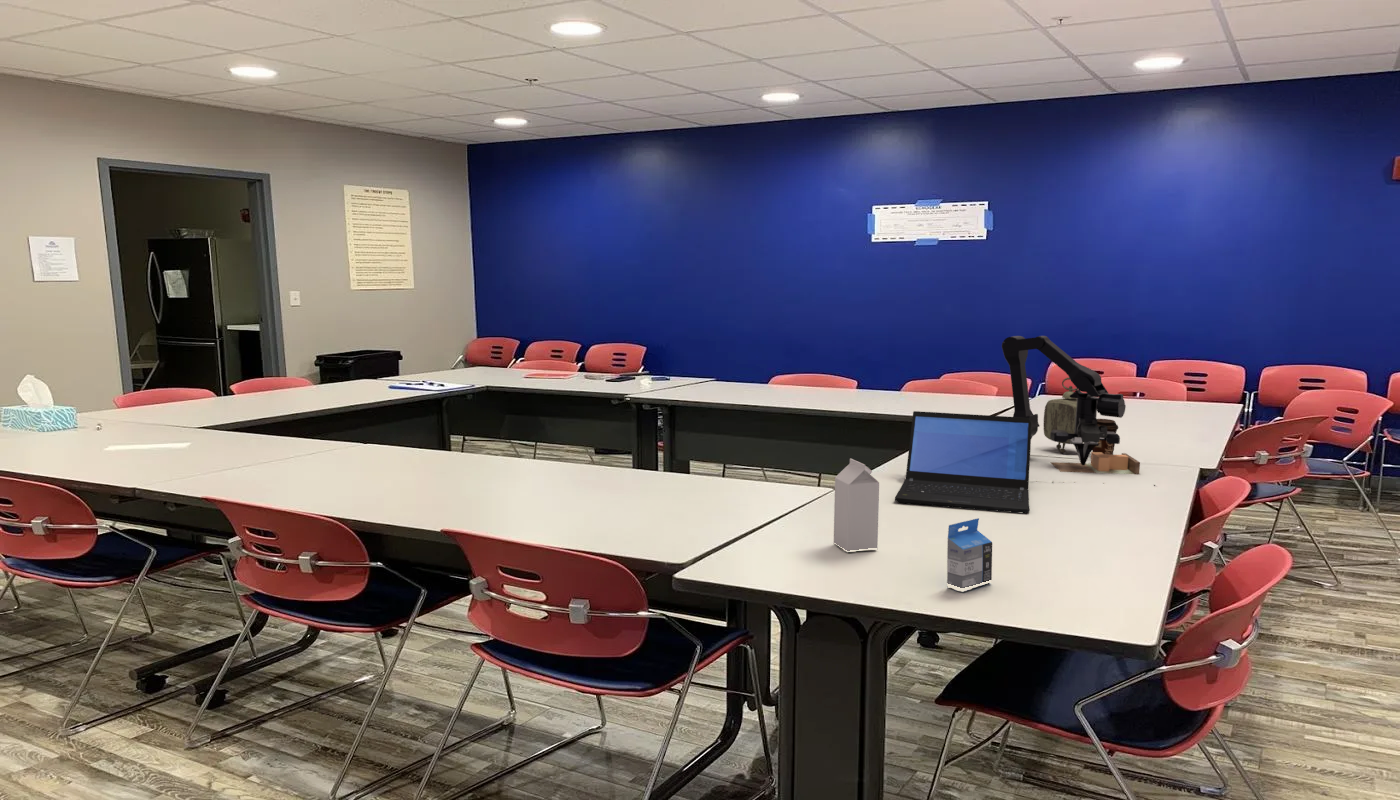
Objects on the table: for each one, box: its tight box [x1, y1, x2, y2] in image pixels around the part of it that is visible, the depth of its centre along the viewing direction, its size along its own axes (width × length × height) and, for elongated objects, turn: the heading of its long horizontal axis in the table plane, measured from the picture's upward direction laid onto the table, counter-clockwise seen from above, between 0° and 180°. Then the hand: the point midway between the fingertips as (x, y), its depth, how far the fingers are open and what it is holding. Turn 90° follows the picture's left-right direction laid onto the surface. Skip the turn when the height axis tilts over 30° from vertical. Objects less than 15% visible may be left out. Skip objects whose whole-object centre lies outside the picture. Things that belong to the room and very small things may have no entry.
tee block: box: [1090, 451, 1128, 471], centre depth 283 cm, size 9×9×4 cm
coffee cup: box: [1091, 418, 1119, 455], centre depth 300 cm, size 9×8×13 cm
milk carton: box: [833, 458, 880, 551], centre depth 203 cm, size 7×7×19 cm
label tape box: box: [946, 517, 993, 588], centre depth 179 cm, size 9×4×12 cm, turn 126°
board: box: [1050, 452, 1141, 475], centre depth 283 cm, size 22×14×4 cm, turn 82°
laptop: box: [894, 410, 1032, 514], centre depth 254 cm, size 33×38×19 cm
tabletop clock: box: [1043, 377, 1084, 454], centre depth 312 cm, size 14×9×25 cm, turn 30°
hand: (1082, 464), depth 284 cm, fingers closed
